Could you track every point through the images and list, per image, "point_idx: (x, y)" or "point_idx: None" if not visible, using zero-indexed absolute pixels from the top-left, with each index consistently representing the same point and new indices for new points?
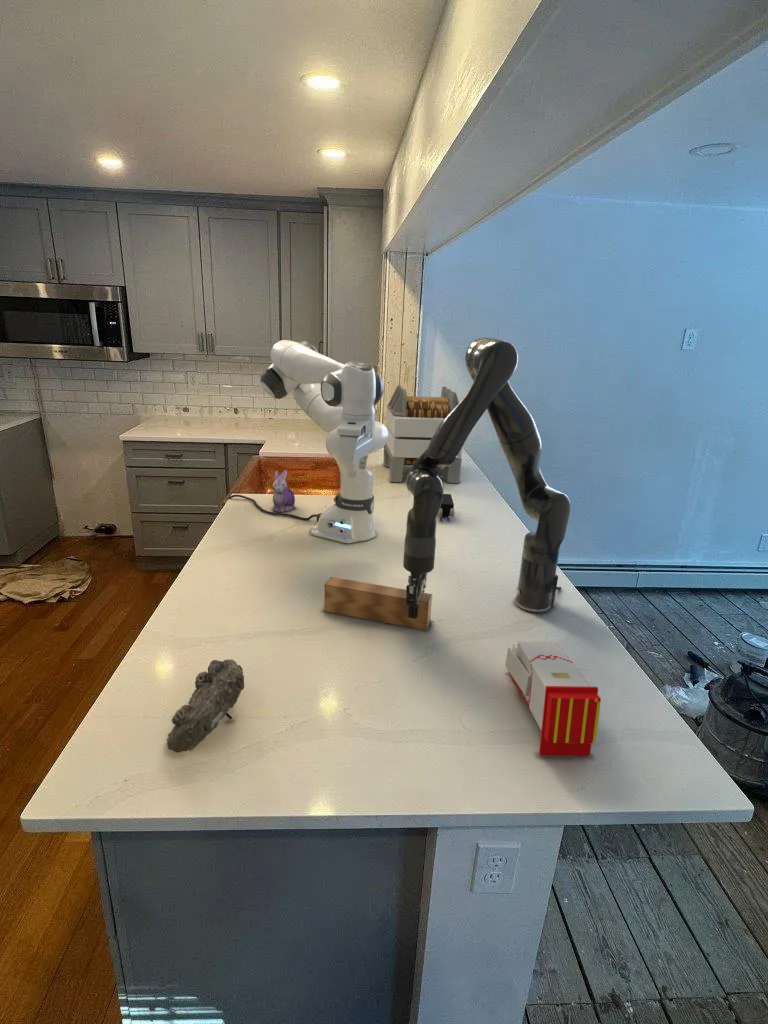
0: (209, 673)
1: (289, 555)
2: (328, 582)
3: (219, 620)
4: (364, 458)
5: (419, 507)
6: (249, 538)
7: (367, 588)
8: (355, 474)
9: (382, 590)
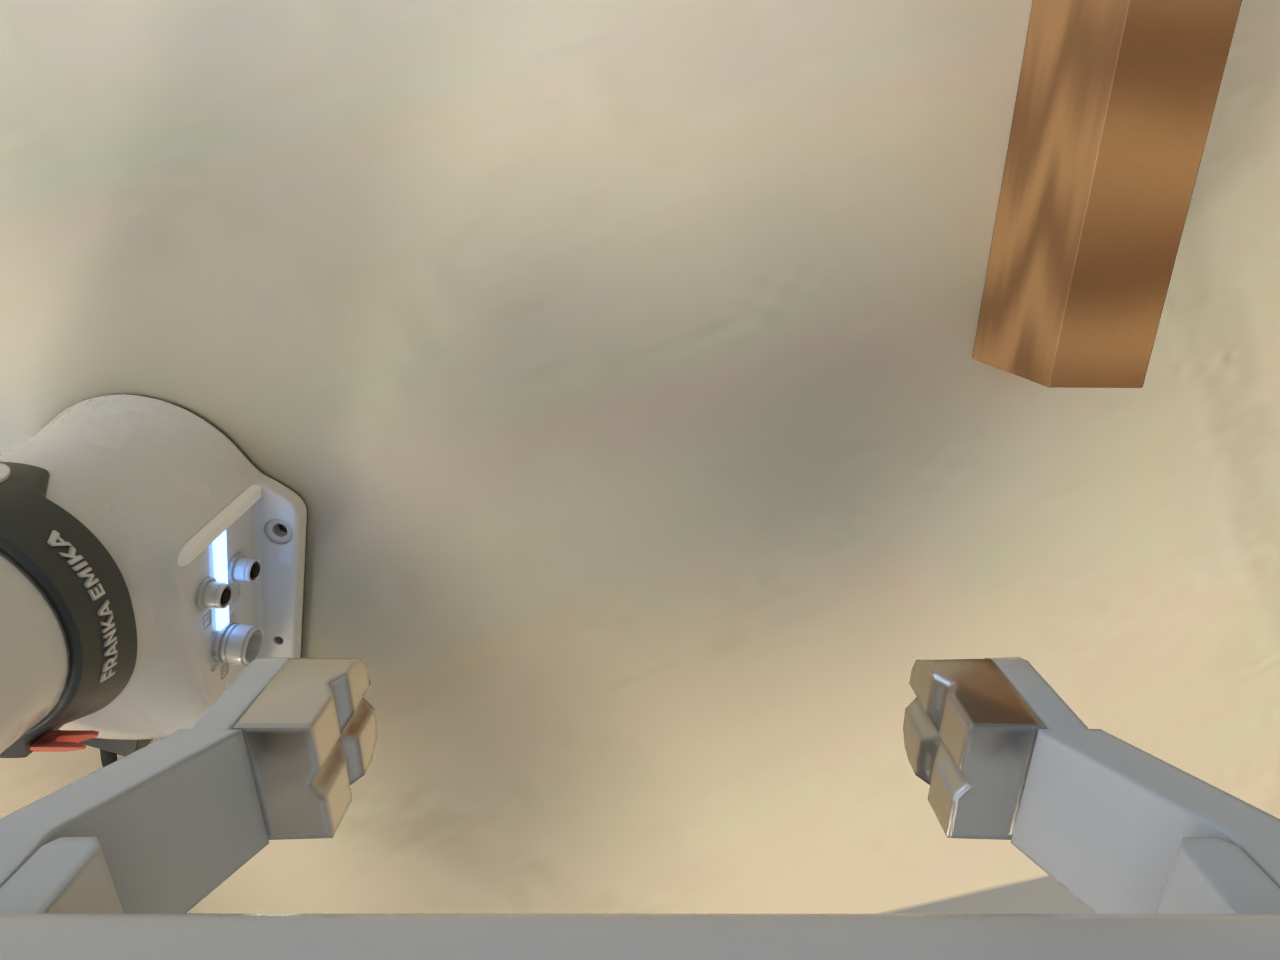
0: None
1: (563, 692)
2: (1122, 374)
3: (1171, 689)
4: (138, 843)
5: None
6: (470, 888)
7: (1171, 126)
8: (966, 678)
9: (1190, 16)
